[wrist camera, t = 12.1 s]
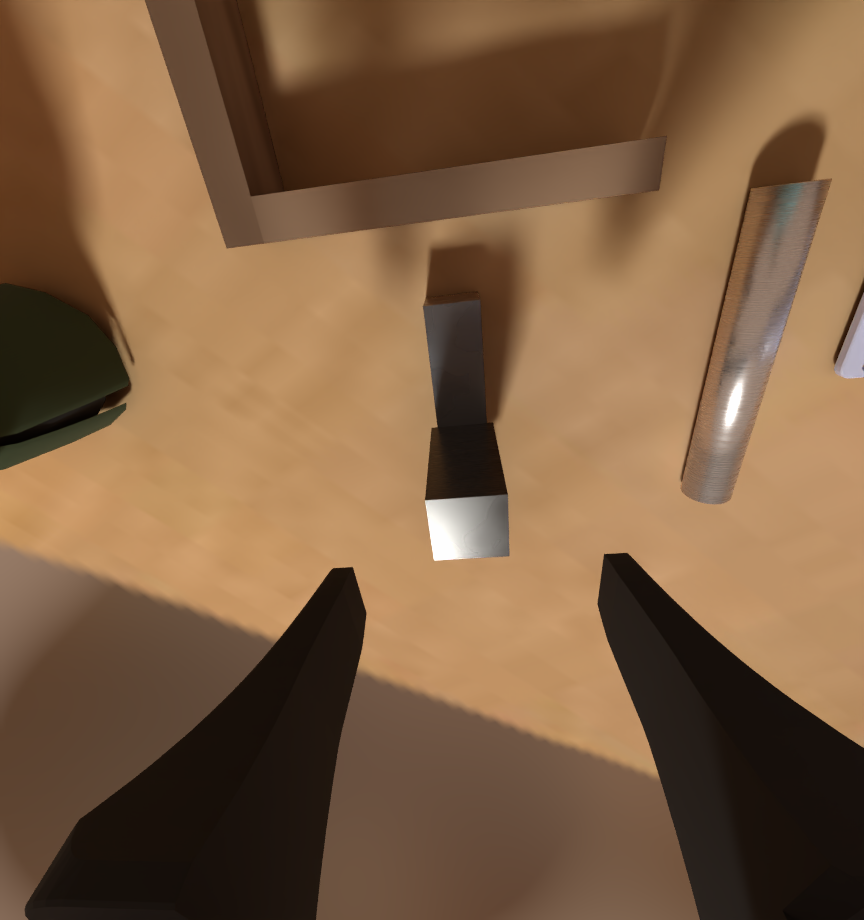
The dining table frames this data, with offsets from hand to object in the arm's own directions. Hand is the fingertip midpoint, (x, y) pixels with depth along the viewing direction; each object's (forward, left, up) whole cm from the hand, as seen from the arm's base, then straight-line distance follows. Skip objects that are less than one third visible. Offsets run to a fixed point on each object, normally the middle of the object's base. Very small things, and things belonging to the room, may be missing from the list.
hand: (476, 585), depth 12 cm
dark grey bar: (0, -1, -9) cm, 9 cm away
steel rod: (-11, -3, -9) cm, 14 cm away
